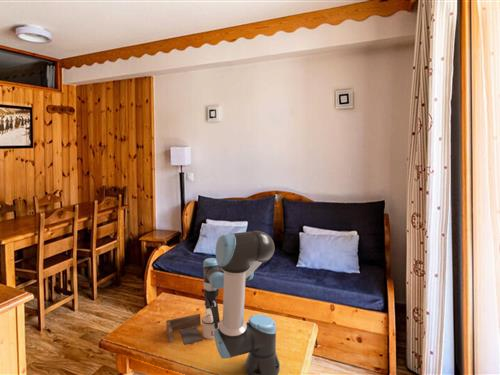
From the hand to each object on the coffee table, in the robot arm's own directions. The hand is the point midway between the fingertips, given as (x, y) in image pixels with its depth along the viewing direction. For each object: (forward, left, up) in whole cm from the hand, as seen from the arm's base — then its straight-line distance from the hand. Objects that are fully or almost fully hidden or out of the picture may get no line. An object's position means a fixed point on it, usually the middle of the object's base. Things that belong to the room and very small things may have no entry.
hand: (212, 326), depth 170 cm
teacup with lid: (0, 0, -4) cm, 4 cm away
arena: (+3, +13, -3) cm, 14 cm away
